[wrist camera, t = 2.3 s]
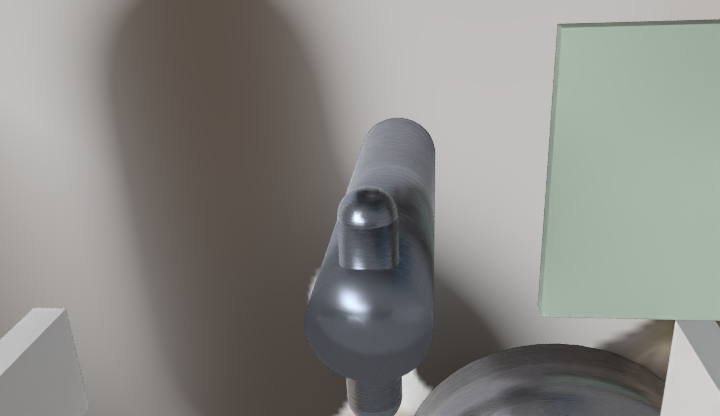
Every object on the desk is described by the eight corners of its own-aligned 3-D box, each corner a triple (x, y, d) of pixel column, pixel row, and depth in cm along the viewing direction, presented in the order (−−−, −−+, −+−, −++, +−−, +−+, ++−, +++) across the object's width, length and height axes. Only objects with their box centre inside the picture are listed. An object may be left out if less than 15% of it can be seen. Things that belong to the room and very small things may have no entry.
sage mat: (557, 24, 25) (562, 27, 24) (909, 14, 23) (928, 18, 23) (537, 304, 29) (540, 317, 29) (831, 310, 28) (844, 323, 27)
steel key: (358, 76, 26) (293, 201, 14) (435, 74, 26) (433, 201, 14) (364, 224, 29) (313, 435, 17) (434, 225, 28) (433, 440, 17)
